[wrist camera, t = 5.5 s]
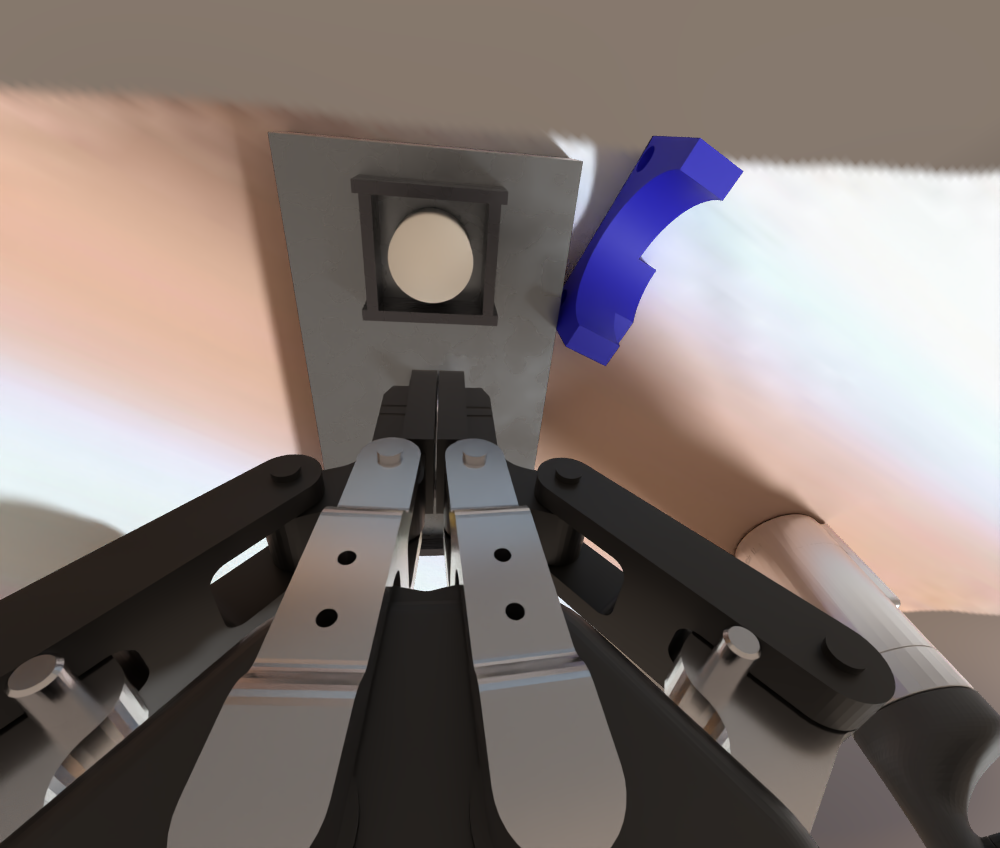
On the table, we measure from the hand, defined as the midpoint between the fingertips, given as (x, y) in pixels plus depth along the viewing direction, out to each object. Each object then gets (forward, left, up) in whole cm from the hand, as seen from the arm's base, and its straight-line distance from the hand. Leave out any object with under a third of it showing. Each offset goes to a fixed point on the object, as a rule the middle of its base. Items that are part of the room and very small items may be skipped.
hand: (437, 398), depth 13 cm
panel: (+1, +9, -19) cm, 21 cm away
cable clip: (-12, -1, -19) cm, 22 cm away
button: (+1, -1, -15) cm, 15 cm away
